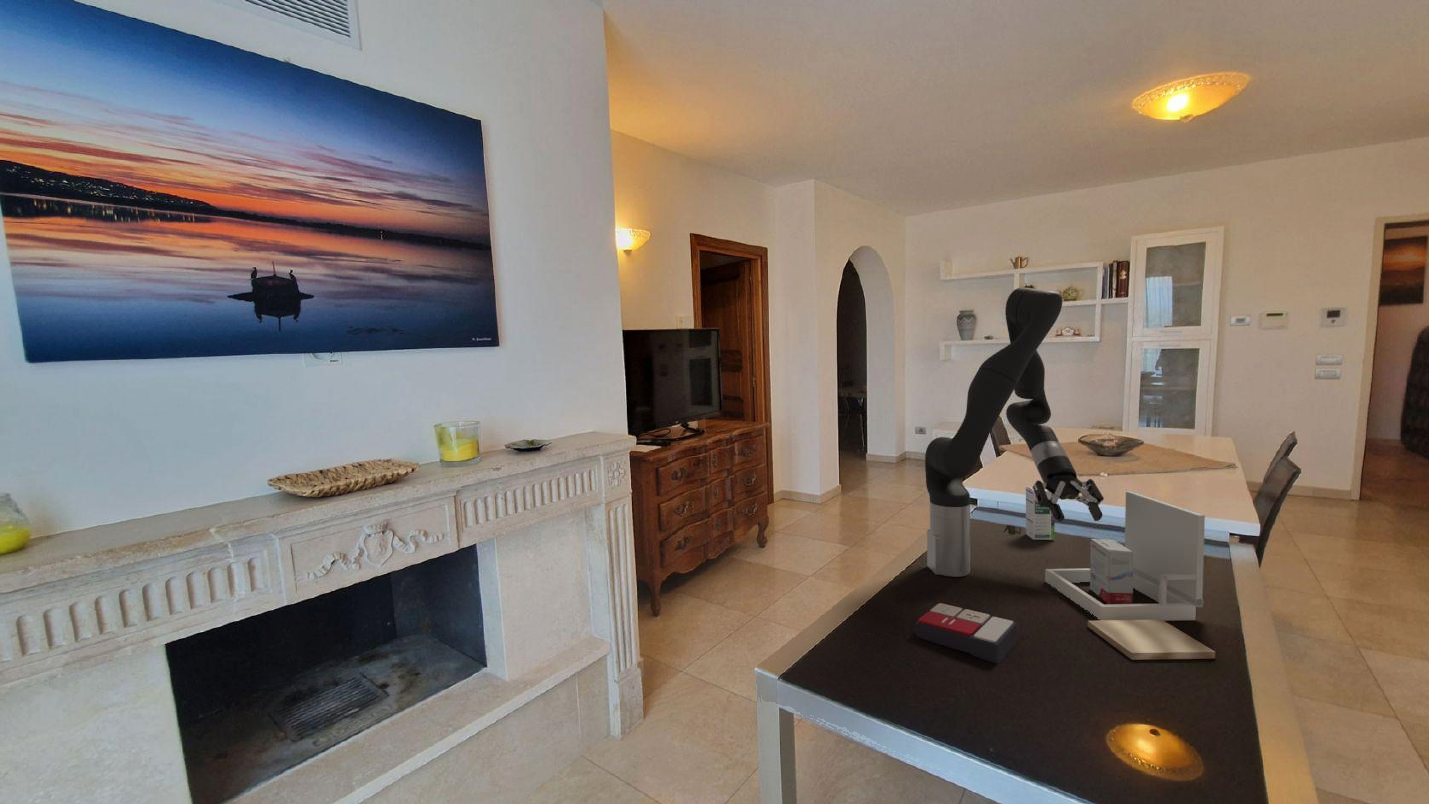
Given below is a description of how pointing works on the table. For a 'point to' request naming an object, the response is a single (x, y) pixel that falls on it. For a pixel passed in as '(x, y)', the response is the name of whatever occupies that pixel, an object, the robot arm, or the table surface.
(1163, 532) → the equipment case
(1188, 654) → the oak board
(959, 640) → the grey red white block
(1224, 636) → the table surface
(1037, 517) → the syrup box
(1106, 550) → the ink box
